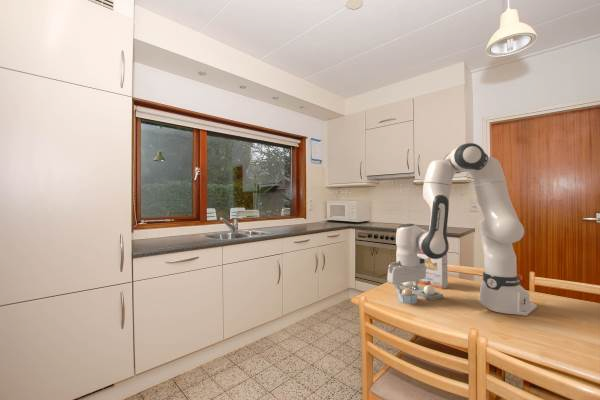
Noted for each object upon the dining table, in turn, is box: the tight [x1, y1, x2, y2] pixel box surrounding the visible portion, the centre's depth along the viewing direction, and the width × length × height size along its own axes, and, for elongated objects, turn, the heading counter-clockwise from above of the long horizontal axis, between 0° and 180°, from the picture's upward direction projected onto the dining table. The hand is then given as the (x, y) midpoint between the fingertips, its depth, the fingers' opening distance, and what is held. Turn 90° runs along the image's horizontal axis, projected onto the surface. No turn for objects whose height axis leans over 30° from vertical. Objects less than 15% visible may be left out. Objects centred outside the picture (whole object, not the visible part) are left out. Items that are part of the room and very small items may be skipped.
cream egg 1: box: [402, 281, 414, 288], centre depth 138 cm, size 5×5×5 cm
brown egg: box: [401, 289, 413, 296], centre depth 122 cm, size 5×5×5 cm
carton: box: [399, 283, 444, 301], centre depth 132 cm, size 8×21×2 cm, turn 25°
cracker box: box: [417, 252, 448, 290], centre depth 142 cm, size 14×6×21 cm, turn 36°
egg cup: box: [397, 292, 418, 305], centre depth 122 cm, size 8×8×4 cm
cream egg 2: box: [423, 285, 436, 296], centre depth 126 cm, size 5×5×5 cm
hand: (407, 291), depth 122 cm, fingers open, 8 cm apart
